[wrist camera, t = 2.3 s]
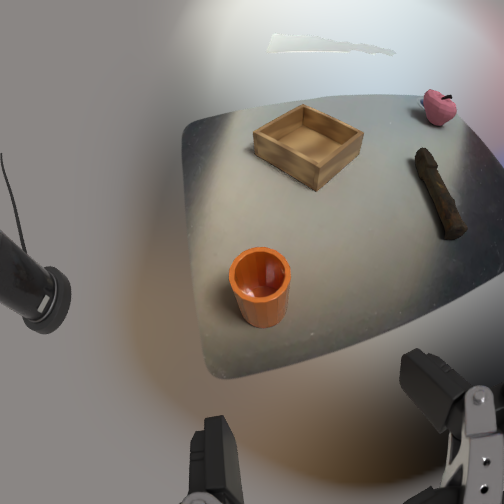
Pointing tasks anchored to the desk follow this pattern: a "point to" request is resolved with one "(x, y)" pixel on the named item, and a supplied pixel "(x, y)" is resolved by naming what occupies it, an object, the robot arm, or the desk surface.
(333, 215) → the desk surface
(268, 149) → the wooden tray
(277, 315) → the orange cup
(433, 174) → the dark brown long bar
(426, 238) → the desk surface
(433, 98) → the apple
